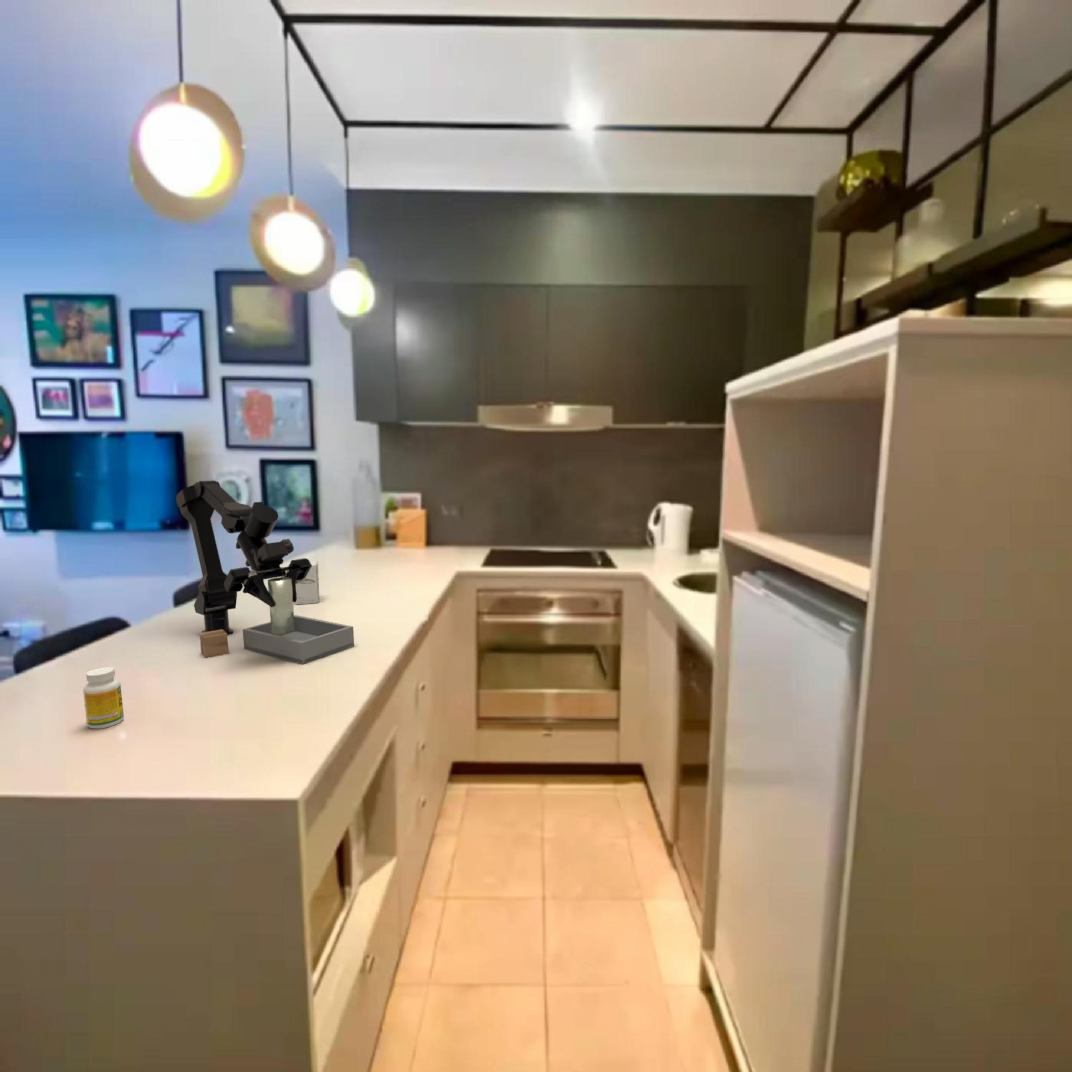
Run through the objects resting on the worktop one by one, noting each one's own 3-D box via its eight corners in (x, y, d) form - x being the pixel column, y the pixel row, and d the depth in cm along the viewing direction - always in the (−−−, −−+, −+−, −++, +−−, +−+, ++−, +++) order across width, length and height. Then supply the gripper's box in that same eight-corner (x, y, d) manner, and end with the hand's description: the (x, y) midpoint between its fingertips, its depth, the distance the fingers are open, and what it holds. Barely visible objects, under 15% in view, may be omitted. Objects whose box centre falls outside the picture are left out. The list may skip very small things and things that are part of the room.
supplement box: (293, 605, 190) (291, 566, 188) (296, 600, 197) (293, 562, 196) (318, 603, 192) (316, 564, 190) (320, 598, 199) (318, 560, 197)
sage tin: (266, 633, 136) (263, 581, 134) (279, 627, 141) (276, 577, 139) (287, 634, 135) (283, 582, 134) (299, 628, 140) (296, 577, 138)
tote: (244, 649, 147) (242, 629, 146) (296, 633, 160) (295, 615, 159) (302, 664, 136) (301, 643, 135) (354, 646, 148) (353, 626, 148)
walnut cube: (201, 653, 145) (199, 633, 144) (224, 649, 148) (222, 629, 147) (205, 658, 141) (203, 638, 140) (228, 654, 144) (227, 633, 143)
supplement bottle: (84, 723, 107) (78, 671, 105) (120, 713, 110) (114, 663, 109) (91, 732, 103) (85, 678, 102) (127, 722, 107) (122, 670, 106)
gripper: (225, 533, 130) (254, 589, 125) (305, 524, 145) (333, 575, 139) (212, 565, 136) (239, 620, 131) (290, 554, 150) (317, 603, 145)
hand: (284, 603), depth 136 cm, fingers closed on sage tin, 5 cm apart
